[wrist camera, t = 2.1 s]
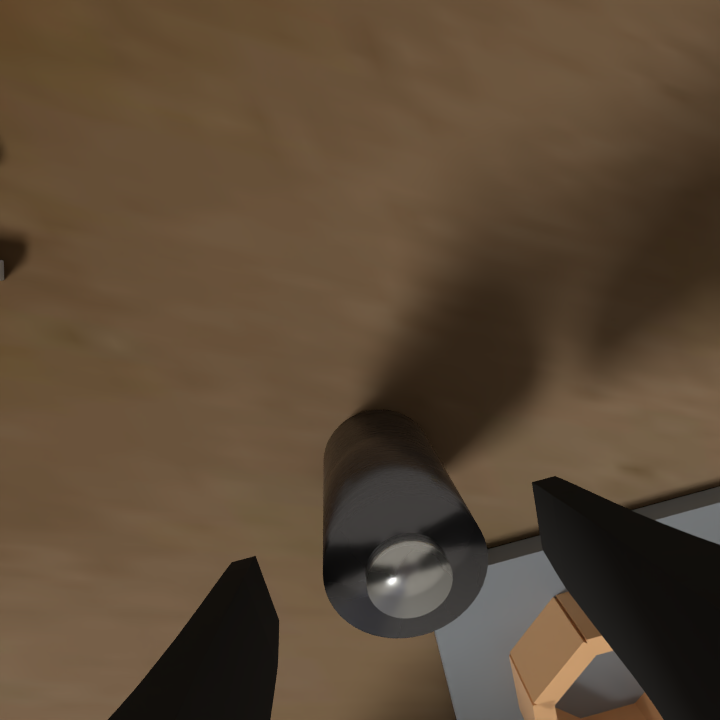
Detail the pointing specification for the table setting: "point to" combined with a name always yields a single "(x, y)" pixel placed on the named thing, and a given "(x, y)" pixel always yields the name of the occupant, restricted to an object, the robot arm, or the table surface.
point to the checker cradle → (548, 637)
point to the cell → (396, 530)
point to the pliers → (1, 270)
